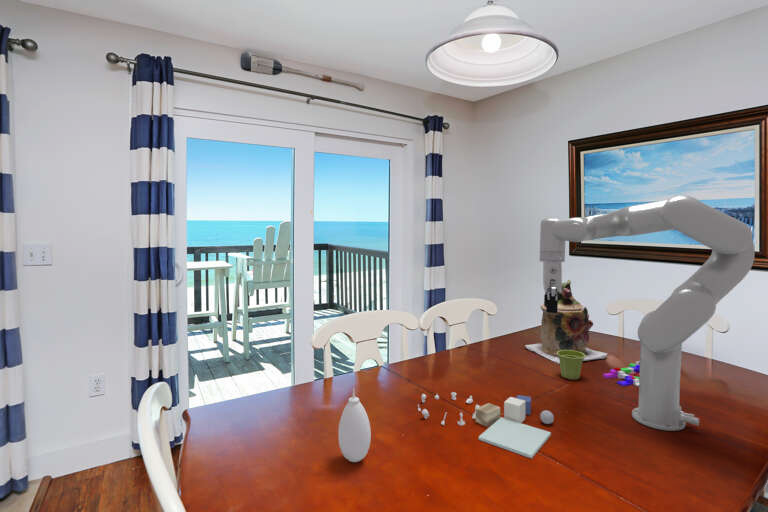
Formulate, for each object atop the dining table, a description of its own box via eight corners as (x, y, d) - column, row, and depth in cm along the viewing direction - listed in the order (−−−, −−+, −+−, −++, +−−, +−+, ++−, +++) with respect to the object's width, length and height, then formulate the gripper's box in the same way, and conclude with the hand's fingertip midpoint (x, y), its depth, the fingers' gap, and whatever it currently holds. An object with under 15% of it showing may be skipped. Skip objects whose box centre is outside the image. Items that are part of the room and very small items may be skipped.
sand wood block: (500, 420, 117) (500, 407, 117) (486, 427, 114) (487, 413, 113) (489, 415, 120) (489, 402, 120) (475, 422, 117) (475, 408, 116)
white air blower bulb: (371, 450, 103) (369, 381, 101) (371, 469, 95) (369, 394, 93) (340, 451, 102) (338, 382, 101) (337, 470, 95) (335, 395, 93)
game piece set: (431, 432, 112) (431, 418, 112) (407, 402, 131) (407, 390, 131) (494, 421, 117) (494, 408, 117) (462, 394, 136) (462, 383, 136)
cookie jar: (522, 348, 185) (523, 278, 182) (566, 343, 192) (567, 275, 190) (561, 366, 161) (562, 286, 159) (610, 359, 168) (612, 282, 166)
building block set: (640, 395, 134) (640, 382, 133) (593, 374, 153) (593, 362, 153) (698, 386, 140) (698, 374, 140) (645, 367, 160) (646, 355, 160)
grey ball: (555, 422, 115) (555, 410, 115) (551, 427, 113) (551, 415, 112) (542, 419, 118) (542, 407, 117) (538, 423, 115) (538, 411, 115)
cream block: (525, 419, 118) (525, 400, 118) (519, 425, 115) (519, 406, 114) (510, 414, 121) (510, 396, 120) (504, 420, 117) (504, 401, 117)
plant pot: (589, 381, 145) (590, 357, 144) (562, 381, 145) (563, 358, 144) (577, 372, 154) (578, 349, 153) (552, 372, 154) (552, 350, 154)
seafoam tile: (550, 435, 109) (550, 432, 109) (531, 458, 98) (531, 455, 98) (501, 419, 118) (501, 417, 118) (478, 439, 107) (478, 436, 107)
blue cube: (530, 409, 124) (530, 396, 124) (530, 415, 120) (530, 402, 120) (517, 407, 125) (517, 395, 125) (516, 413, 122) (516, 400, 121)
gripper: (568, 259, 121) (566, 316, 122) (561, 255, 137) (560, 304, 139) (541, 258, 123) (539, 314, 125) (538, 254, 140) (536, 303, 141)
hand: (550, 309), depth 132 cm, fingers open, 9 cm apart
